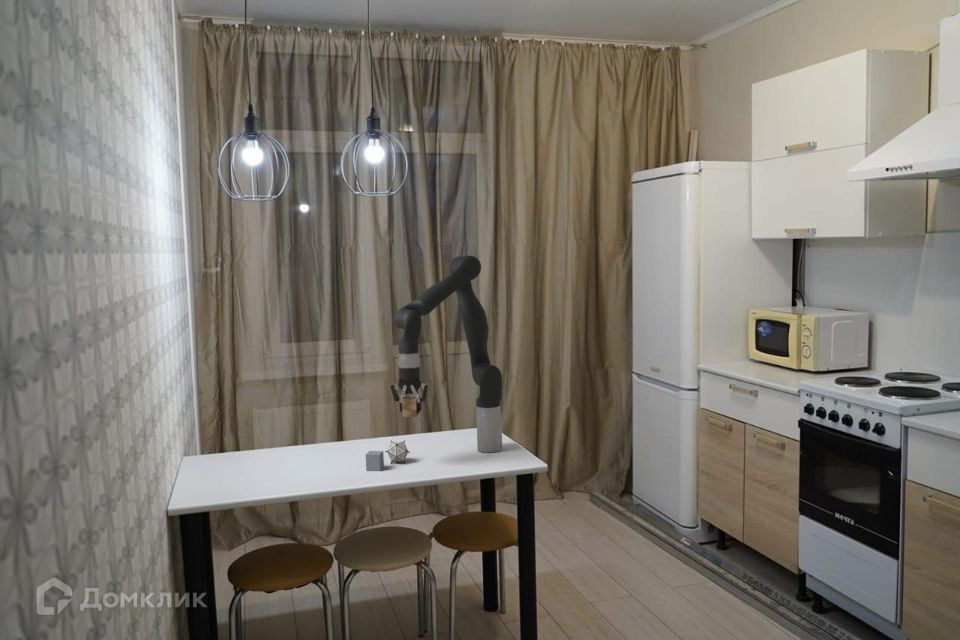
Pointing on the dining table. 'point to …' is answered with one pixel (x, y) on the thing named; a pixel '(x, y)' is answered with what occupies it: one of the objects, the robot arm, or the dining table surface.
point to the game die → (397, 451)
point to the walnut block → (409, 407)
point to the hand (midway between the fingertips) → (410, 412)
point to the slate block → (374, 460)
